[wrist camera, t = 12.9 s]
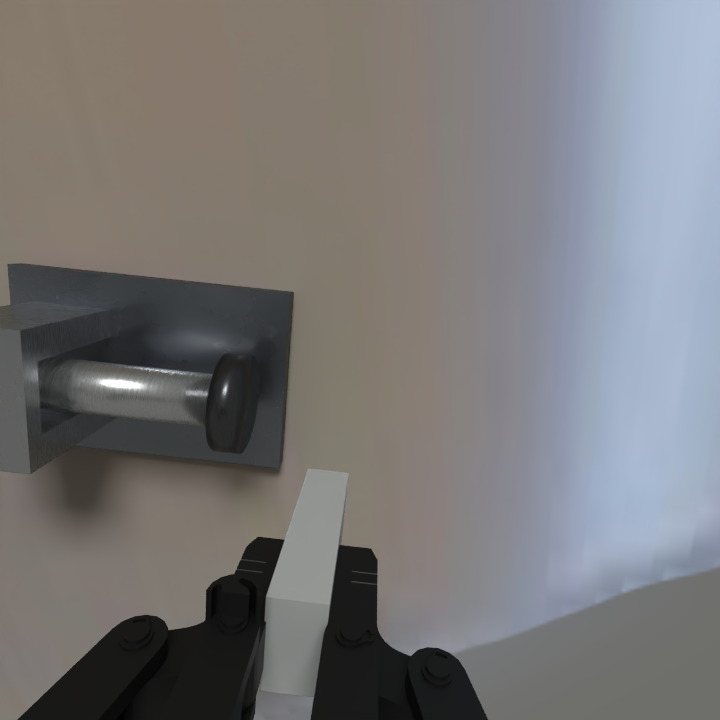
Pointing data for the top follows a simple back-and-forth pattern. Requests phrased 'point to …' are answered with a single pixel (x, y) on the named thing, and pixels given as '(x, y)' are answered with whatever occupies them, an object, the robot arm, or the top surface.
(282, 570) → the robot arm
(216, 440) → the shaft
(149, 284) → the rail
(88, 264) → the top surface
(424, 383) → the top surface
